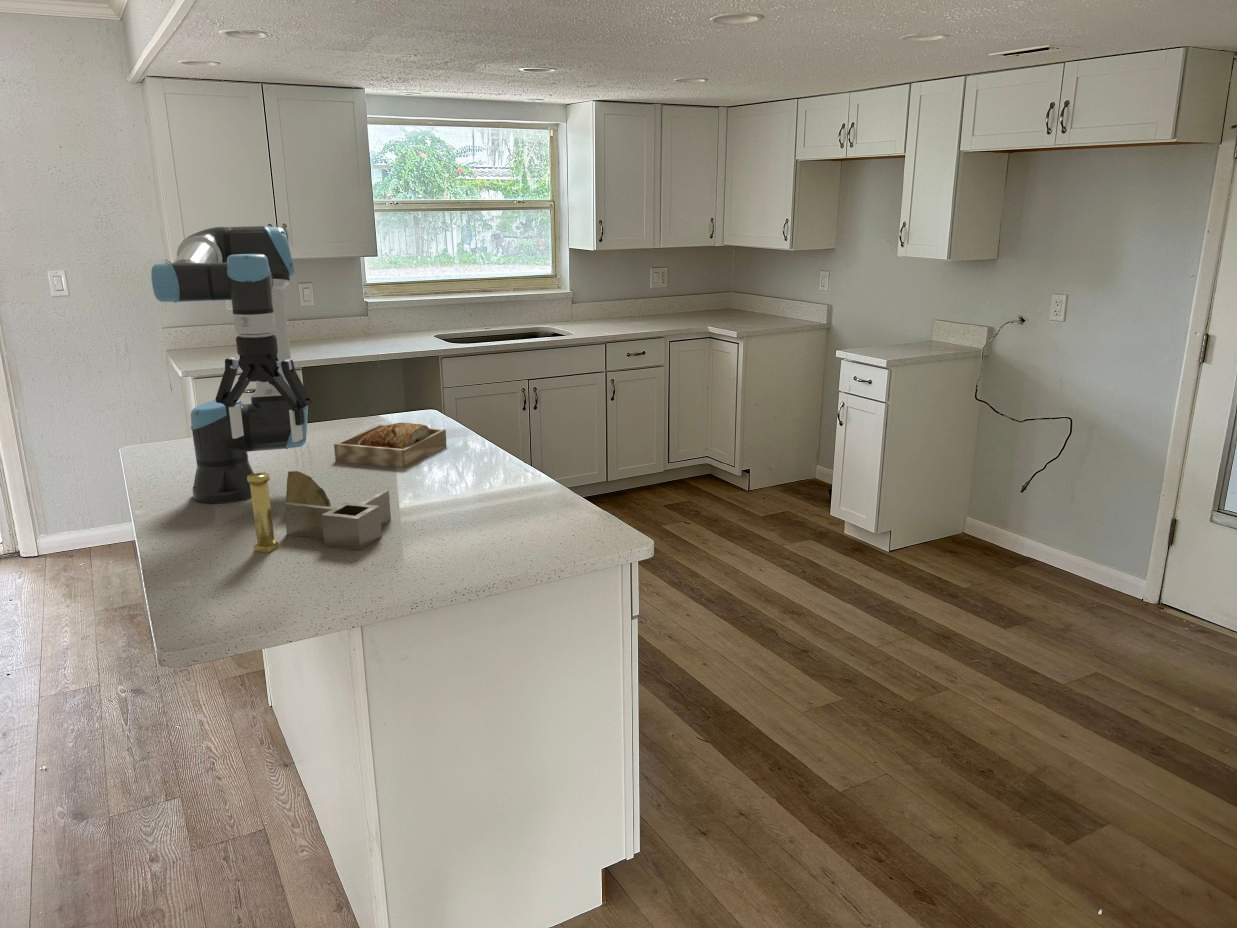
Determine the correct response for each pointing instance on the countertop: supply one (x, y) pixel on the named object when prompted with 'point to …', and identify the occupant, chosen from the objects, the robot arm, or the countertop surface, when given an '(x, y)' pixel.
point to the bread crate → (388, 450)
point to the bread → (395, 435)
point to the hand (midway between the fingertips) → (267, 438)
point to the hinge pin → (262, 512)
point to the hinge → (340, 521)
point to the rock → (304, 490)
